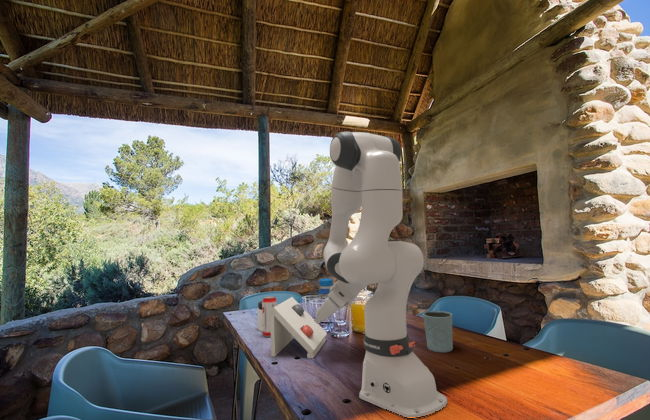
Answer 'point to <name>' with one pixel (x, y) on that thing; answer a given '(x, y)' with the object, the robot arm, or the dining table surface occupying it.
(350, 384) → the dining table surface
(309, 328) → the red button
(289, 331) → the console
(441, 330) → the grey green cup
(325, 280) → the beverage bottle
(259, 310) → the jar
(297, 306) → the charcoal button
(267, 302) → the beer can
